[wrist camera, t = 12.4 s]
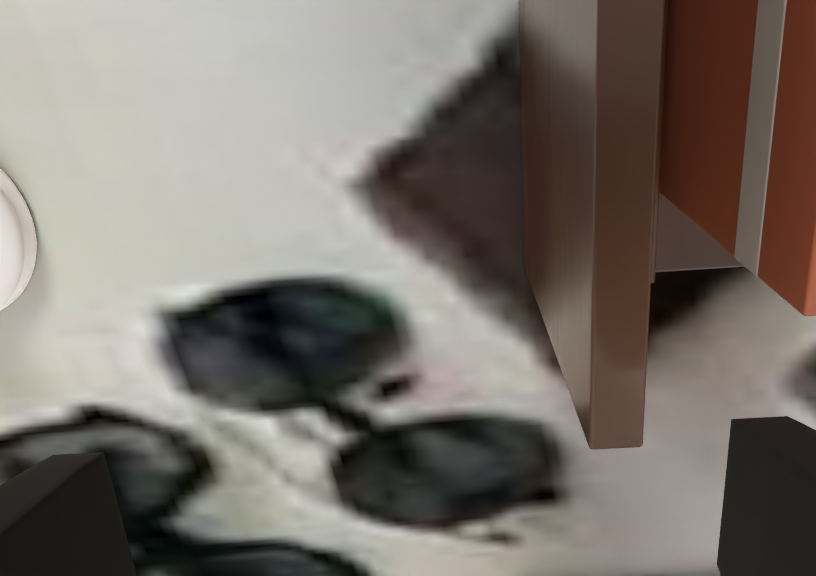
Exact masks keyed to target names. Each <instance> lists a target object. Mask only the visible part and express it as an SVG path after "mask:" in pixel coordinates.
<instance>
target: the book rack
mask: <svg viewBox="0 0 816 576" xmlns="http://www.w3.org/2000/svg"><path fill="white" fill-rule="evenodd" d="M668 16H669V0H519V33H520V87H521V140H522V193H523V247H524V267H525V270H526V272H527V275H528V278H529V281H530V284H531V287H532V290H533V292H534V295H535V298H536V301H537V304H538V306H539V309H540V312H541V315H542V317H543V320H544V323H545V326H546V329H547V331H548V334H549V337H550V340H551V342H552V345H553V348H554V351H555V354H556V356H557V359H558V362H559V365H560V367H561V370H562V373H563V376H564V378H565V381H566V384H567V387H568V390H569V392H570V395H571V398H572V401H573V403H574V406H575V409H576V412H577V415H578V417H579V420H580V423H581V426H582V428H583V431H584V434H585V437H586V440H587V442H588V445H589V447H590V449H610V448H630V447H641V446H642V444H643V428H644V408H645V388H646V367H647V347H648V327H649V307H650V286H651V283H654V281H655V272H667V271H683V270H699V269H716V268H732V267H745V266H743V265H742V264H741V263H740V262H739V261H738V260H736V258H735V256H733V255H732V254H731V253H730V252H729V251H728V250H726V249H725V248H724V247H723V246H722V245H720V244H719V243H718V242H717V241H716V240H715V239H713V238H712V237H711V236H710V235H709V234H708V233H706V232H705V231H704V230H703V229H702V228H701V227H699V226H698V225H697V224H696V223H695V222H694V221H692V220H691V219H690V218H689V217H688V216H687V215H685V214H684V213H683V212H682V211H681V210H680V209H678V208H677V207H676V206H675V205H674V204H673V203H671V202H670V201H669V200H668V199H667V198H666V197H664V196H663V195H662V194H661V193H660V192H659V190H660V171H661V152H662V132H663V113H664V93H665V74H666V55H667V35H668Z"/></svg>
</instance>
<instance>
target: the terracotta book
mask: <svg viewBox="0 0 816 576" xmlns="http://www.w3.org/2000/svg"><path fill="white" fill-rule="evenodd" d="M659 192H660V193H661V194H662V195H663V196H664V197H666V198H667V199H668V200H669V201H670V202H671V203H673V204H674V205H675V206H676V207H677V208H678V209H680V210H681V211H682V212H683V213H684V214H685V215H687V216H688V217H689V218H690V219H691V220H692V221H694V222H695V223H696V224H697V225H698V226H699V227H701V228H702V229H703V230H704V231H705V232H706V233H708V234H709V235H710V236H711V237H712V238H713V239H715V240H716V241H717V242H718V243H719V244H720V245H722V246H723V247H724V248H725V249H726V250H728V251H729V252H730V253H731V254H732V255H733V256H735V258H736V260H738V261H739V262H740V263H741V264H742V265H743V266H745V267H746V268H747V269H748V270H749V271H750V272H752V273H753V274H754V275H755V276H756V277H759V278H760V279H761V280H763V281H764V282H765V283H766V284H767V285H768V286H770V287H771V288H772V289H773V290H774V291H775V292H777V293H778V294H779V295H780V296H781V297H782V298H784V299H785V300H786V301H787V302H788V303H789V304H791V305H792V306H793V307H794V308H795V309H796V310H798V311H799V312H800V313H801V314H802V315H804V316H816V0H669V16H668V35H667V55H666V74H665V93H664V113H663V132H662V152H661V171H660V190H659Z"/></svg>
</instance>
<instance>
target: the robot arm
mask: <svg viewBox="0 0 816 576" xmlns="http://www.w3.org/2000/svg"><path fill="white" fill-rule="evenodd" d="M717 565H718V568H719V571H720V574H721V576H816V430H814V429H812V428H810V427H808V426H806V425H804V424H802V423H800V422H798V421H796V420H794V419H792V418H790V417H788V416H784V417H765V418H746V419H731V429H730V439H729V449H728V459H727V469H726V479H725V489H724V499H723V509H722V519H721V529H720V539H719V549H718V559H717ZM0 576H137V574H136V570H135V567H134V563H133V559H132V556H131V552H130V548H129V544H128V541H127V537H126V533H125V530H124V526H123V522H122V518H121V515H120V511H119V507H118V504H117V500H116V496H115V493H114V489H113V485H112V481H111V478H110V474H109V470H108V467H107V463H106V459H105V455H104V452H102V453H83V454H64V455H52V456H50V457H49V458H47V459H45V460H43V461H41V462H39V463H37V464H35V465H34V466H32V467H30V468H29V469H27V470H25V471H23V472H22V473H20V474H18V475H17V476H15V477H14V478H12V479H10V480H9V481H7V482H6V483H4V484H2V485H1V486H0Z"/></svg>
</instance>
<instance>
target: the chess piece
mask: <svg viewBox="0 0 816 576" xmlns="http://www.w3.org/2000/svg"><path fill="white" fill-rule="evenodd" d="M36 255H37V240H36V232H35V227H34V223H33V220H32V217H31V214H30V211H29V209H28V207H27V204H26V202H25V200H24V199H23V197H22V195H21V193H20V192H19V190H18V189H17V187H16V186H15V184H14V183H13V182H12V181H11V179H10V178H9V177H8V176H7V175H6V174H5V172H4V171H3V170H2V169H1V168H0V310H2V309H4V308H5V307H7V306H8V305H10V304H11V303H12V302H13V301H14V300H16V299H17V298H18V297H19V295H20V294H21V293H22V292H23V290H24V289H25V287H26V286H27V284H28V282H29V280H30V278H31V276H32V273H33V270H34V267H35V262H36Z"/></svg>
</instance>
